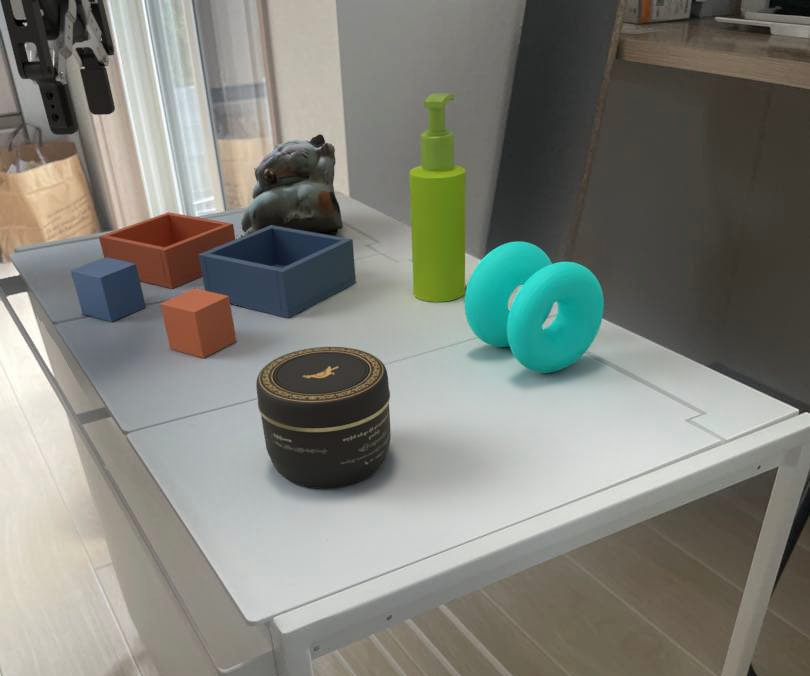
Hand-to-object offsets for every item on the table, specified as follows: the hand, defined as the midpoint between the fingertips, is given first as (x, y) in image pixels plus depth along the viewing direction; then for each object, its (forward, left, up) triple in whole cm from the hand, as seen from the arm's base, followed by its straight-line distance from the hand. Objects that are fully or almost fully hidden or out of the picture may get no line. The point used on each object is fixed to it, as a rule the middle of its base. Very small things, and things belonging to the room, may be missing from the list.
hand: (85, 123), depth 74 cm
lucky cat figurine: (-10, +36, -21) cm, 43 cm away
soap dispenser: (+20, +28, -21) cm, 40 cm away
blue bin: (+3, +19, -21) cm, 29 cm away
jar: (+32, -8, -21) cm, 39 cm away
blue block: (-10, +5, -21) cm, 24 cm away
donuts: (+37, +17, -21) cm, 45 cm away
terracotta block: (+6, +3, -21) cm, 22 cm away
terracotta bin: (-15, +19, -21) cm, 32 cm away
